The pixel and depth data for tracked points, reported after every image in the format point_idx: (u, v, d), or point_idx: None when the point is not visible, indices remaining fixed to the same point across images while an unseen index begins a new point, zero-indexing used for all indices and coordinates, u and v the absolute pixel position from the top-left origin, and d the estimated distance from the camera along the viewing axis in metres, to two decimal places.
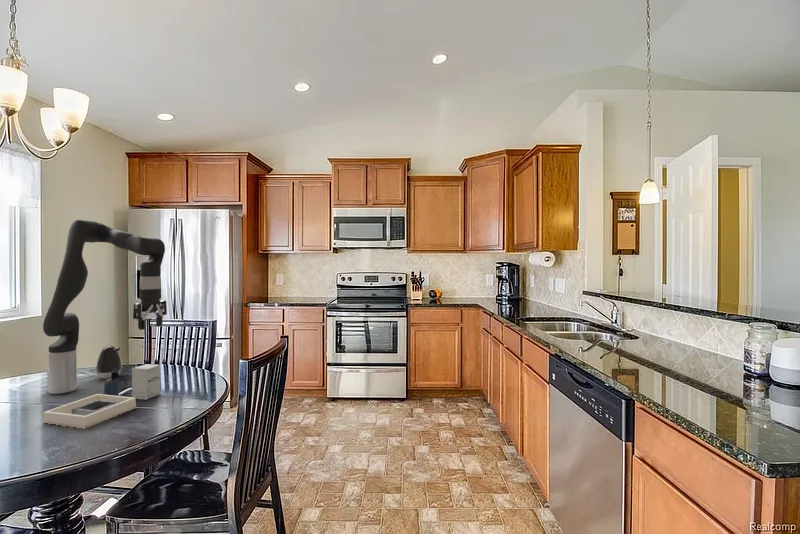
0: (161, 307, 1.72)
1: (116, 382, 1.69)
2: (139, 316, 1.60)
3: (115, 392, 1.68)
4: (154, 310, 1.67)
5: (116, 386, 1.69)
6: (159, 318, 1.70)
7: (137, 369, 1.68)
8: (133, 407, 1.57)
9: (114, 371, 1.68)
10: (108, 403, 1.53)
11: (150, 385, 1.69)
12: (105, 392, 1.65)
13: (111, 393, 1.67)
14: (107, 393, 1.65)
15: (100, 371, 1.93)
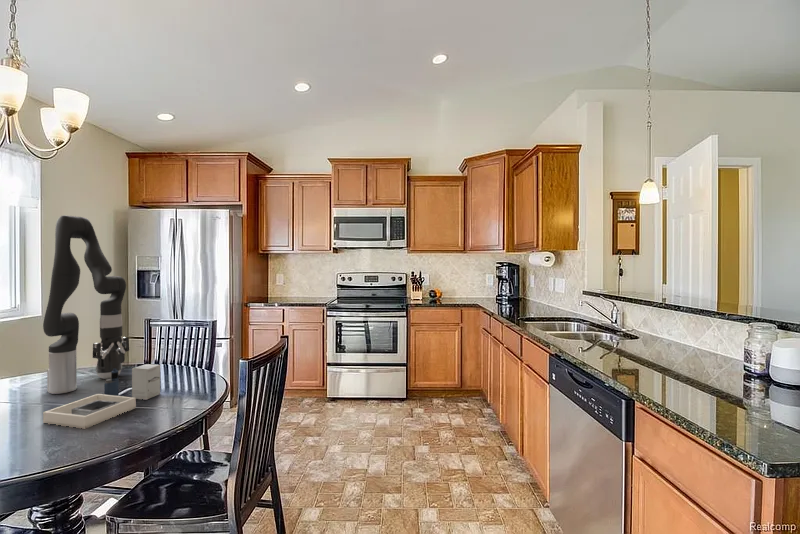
0: (123, 344, 1.73)
1: (116, 382, 1.69)
2: (98, 355, 1.61)
3: (115, 392, 1.68)
4: (115, 348, 1.68)
5: (116, 386, 1.69)
6: (121, 355, 1.71)
7: (137, 369, 1.68)
8: (133, 407, 1.57)
9: (114, 371, 1.68)
10: (108, 403, 1.53)
11: (150, 385, 1.69)
12: (105, 392, 1.65)
13: (111, 393, 1.67)
14: (107, 393, 1.65)
15: (100, 371, 1.93)
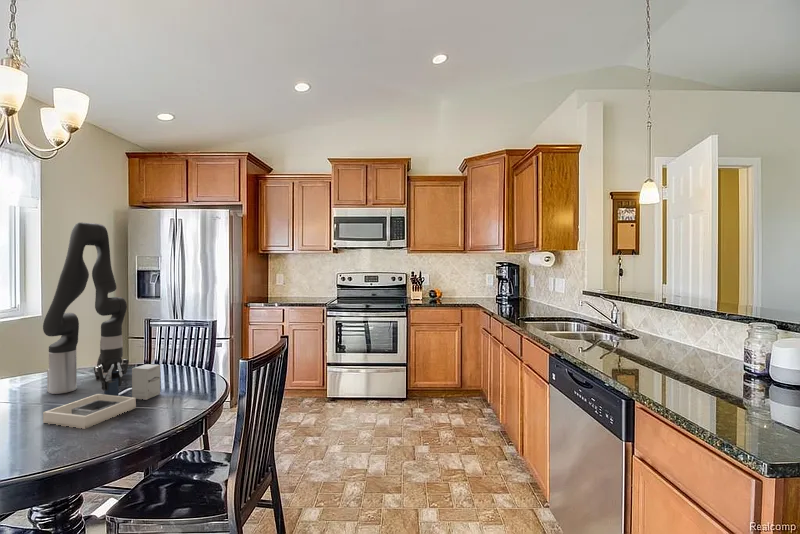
0: (122, 366, 1.73)
1: (116, 382, 1.69)
2: (102, 378, 1.63)
3: (115, 392, 1.68)
4: (114, 368, 1.68)
5: (116, 386, 1.69)
6: (118, 378, 1.70)
7: (137, 369, 1.68)
8: (133, 407, 1.57)
9: (114, 371, 1.68)
10: (108, 403, 1.53)
11: (150, 385, 1.69)
12: (105, 392, 1.65)
13: (111, 393, 1.67)
14: (107, 393, 1.65)
15: None
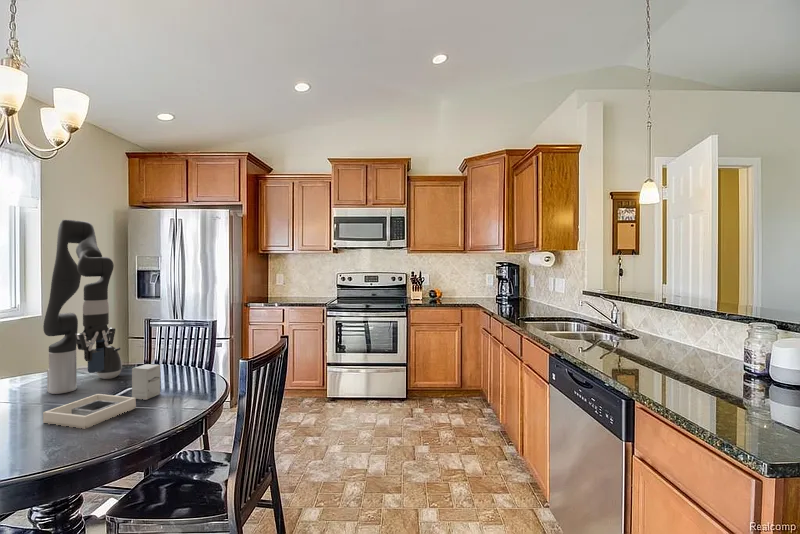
0: (108, 335, 1.54)
1: (101, 352, 1.50)
2: (85, 347, 1.44)
3: (100, 363, 1.50)
4: (99, 337, 1.49)
5: (101, 357, 1.50)
6: None
7: (137, 369, 1.68)
8: (133, 407, 1.57)
9: (99, 340, 1.50)
10: (108, 403, 1.53)
11: (150, 385, 1.69)
12: (88, 363, 1.47)
13: (95, 364, 1.48)
14: (91, 364, 1.47)
15: (100, 371, 1.93)
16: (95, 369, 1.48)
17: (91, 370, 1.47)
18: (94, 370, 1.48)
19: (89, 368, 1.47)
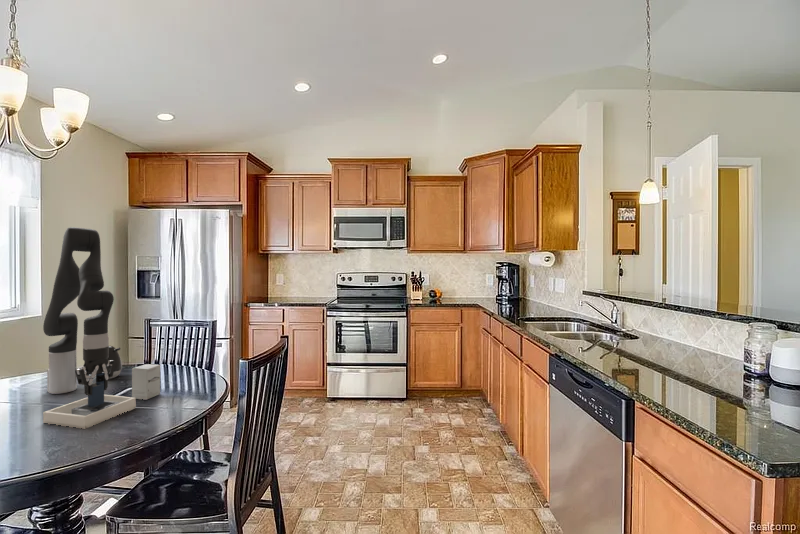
0: (108, 368, 1.55)
1: (101, 386, 1.50)
2: (85, 381, 1.44)
3: (100, 397, 1.50)
4: (99, 370, 1.50)
5: (101, 390, 1.50)
6: (104, 381, 1.52)
7: (137, 369, 1.68)
8: (133, 407, 1.57)
9: (99, 373, 1.50)
10: (108, 403, 1.53)
11: (150, 385, 1.69)
12: (89, 397, 1.47)
13: (95, 398, 1.48)
14: (91, 398, 1.47)
15: None
16: (95, 403, 1.48)
17: (91, 404, 1.47)
18: (94, 404, 1.48)
19: (89, 402, 1.47)
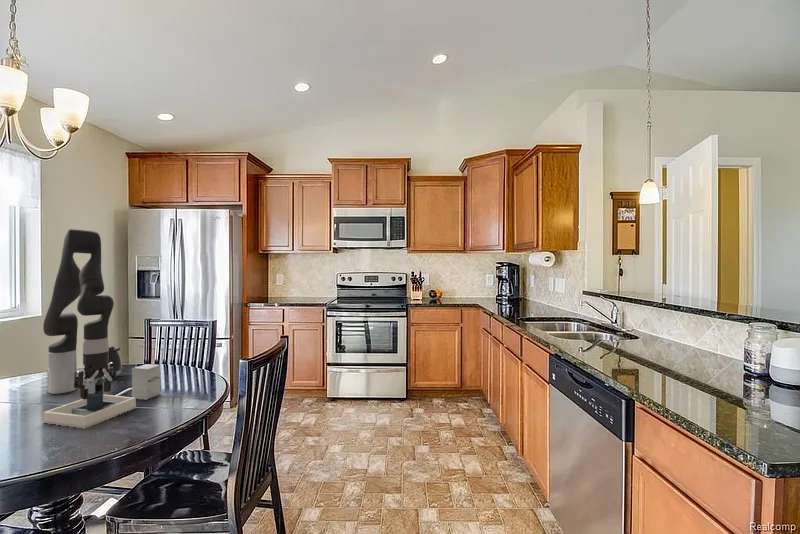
0: (110, 370, 1.55)
1: (100, 395, 1.50)
2: (81, 385, 1.43)
3: (99, 406, 1.50)
4: (100, 375, 1.50)
5: (100, 400, 1.50)
6: (107, 383, 1.53)
7: (137, 369, 1.68)
8: (133, 407, 1.57)
9: (98, 383, 1.50)
10: (108, 403, 1.53)
11: (150, 385, 1.69)
12: (88, 407, 1.47)
13: (94, 408, 1.48)
14: (90, 408, 1.47)
15: None
16: None
17: None
18: None
19: None
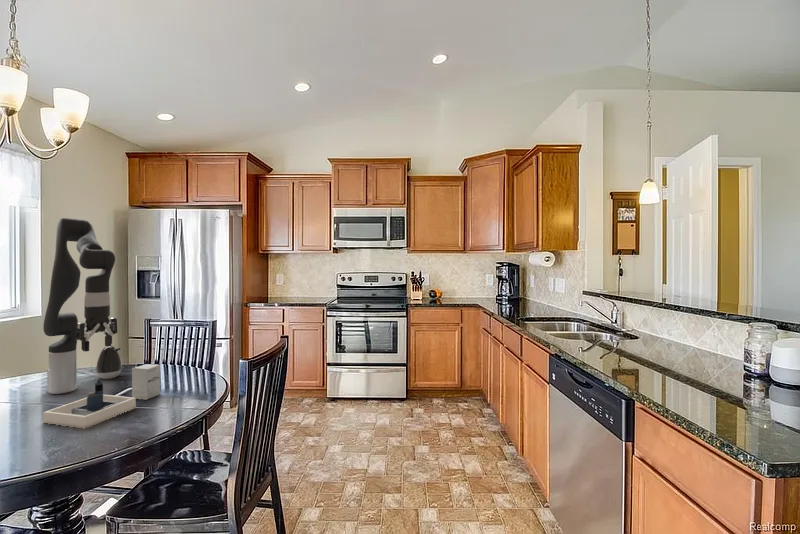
0: (111, 325, 1.57)
1: (100, 395, 1.50)
2: (82, 337, 1.44)
3: (99, 406, 1.50)
4: (101, 329, 1.52)
5: (100, 400, 1.50)
6: (108, 337, 1.55)
7: (137, 369, 1.68)
8: (133, 407, 1.57)
9: (98, 383, 1.50)
10: (108, 403, 1.53)
11: (150, 385, 1.69)
12: (88, 407, 1.47)
13: (95, 408, 1.48)
14: (90, 408, 1.47)
15: (100, 371, 1.93)
16: None
17: None
18: None
19: None
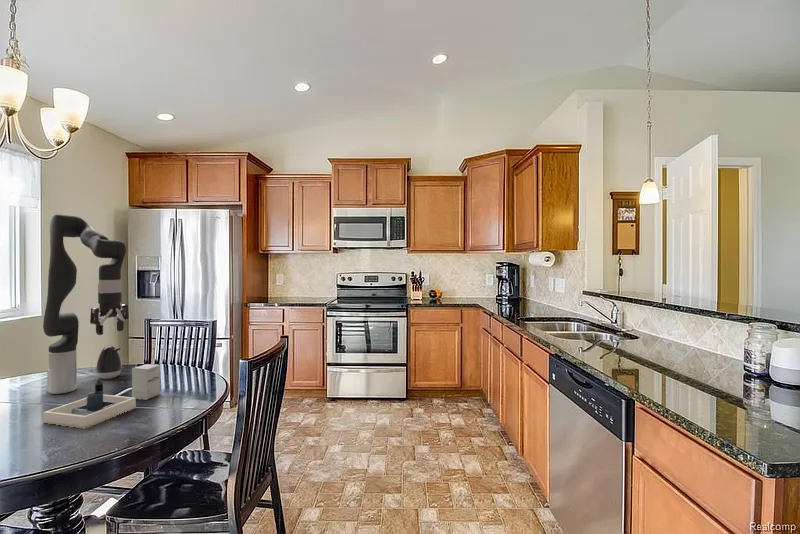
0: (122, 311, 1.67)
1: (100, 395, 1.50)
2: (96, 321, 1.55)
3: (99, 406, 1.50)
4: (114, 314, 1.62)
5: (100, 400, 1.50)
6: (120, 322, 1.65)
7: (137, 369, 1.68)
8: (133, 407, 1.57)
9: (98, 383, 1.50)
10: (108, 403, 1.53)
11: (150, 385, 1.69)
12: (88, 407, 1.47)
13: (95, 408, 1.48)
14: (90, 408, 1.47)
15: (100, 371, 1.93)
16: None
17: None
18: None
19: None
